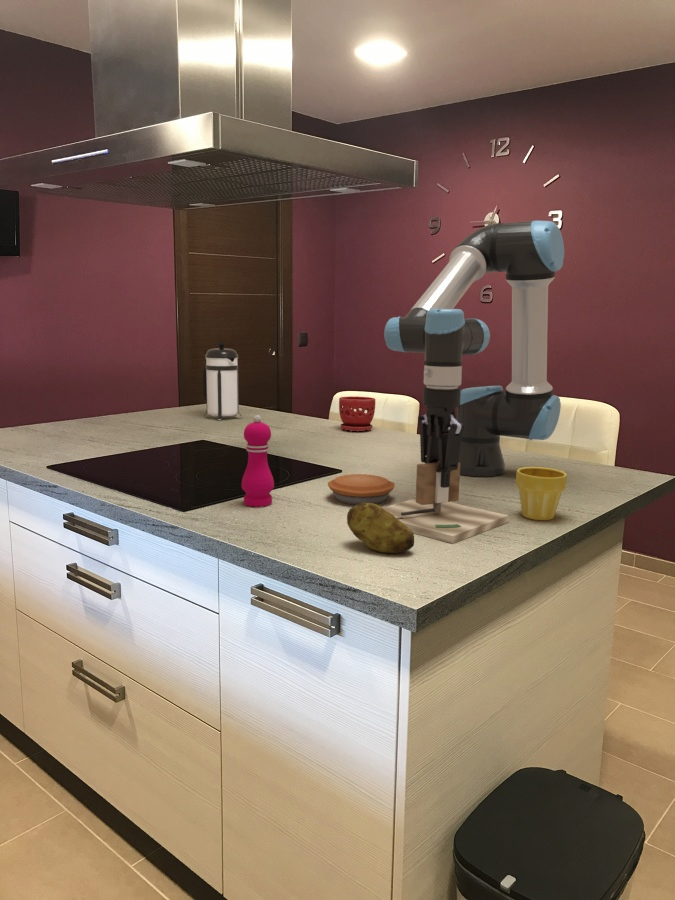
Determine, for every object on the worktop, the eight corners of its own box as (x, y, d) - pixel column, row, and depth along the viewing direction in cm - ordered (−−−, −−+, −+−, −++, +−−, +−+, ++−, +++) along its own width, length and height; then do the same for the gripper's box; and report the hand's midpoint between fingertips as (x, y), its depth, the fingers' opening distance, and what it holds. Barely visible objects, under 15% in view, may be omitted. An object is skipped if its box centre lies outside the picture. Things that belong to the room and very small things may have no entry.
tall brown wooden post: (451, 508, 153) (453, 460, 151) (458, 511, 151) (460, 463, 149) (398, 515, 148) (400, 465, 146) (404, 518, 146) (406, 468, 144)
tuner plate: (423, 502, 165) (423, 495, 165) (508, 522, 150) (508, 514, 150) (365, 519, 151) (365, 511, 151) (452, 543, 136) (452, 535, 136)
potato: (385, 562, 126) (386, 518, 124) (339, 543, 135) (339, 502, 134) (419, 553, 131) (421, 510, 129) (373, 535, 140) (373, 495, 139)
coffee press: (246, 415, 294) (245, 341, 289) (236, 421, 279) (235, 342, 273) (204, 414, 296) (202, 340, 290) (193, 420, 280) (191, 342, 275)
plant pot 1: (379, 432, 258) (380, 399, 256) (343, 433, 255) (343, 399, 253) (369, 426, 271) (369, 394, 268) (335, 427, 268) (335, 395, 265)
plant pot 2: (571, 516, 156) (575, 471, 154) (550, 526, 148) (553, 479, 146) (527, 506, 162) (530, 464, 161) (504, 516, 155) (507, 471, 153)
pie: (331, 489, 176) (331, 469, 175) (395, 492, 174) (395, 472, 173) (323, 506, 161) (323, 484, 160) (393, 509, 159) (393, 487, 158)
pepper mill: (258, 497, 167) (257, 411, 163) (280, 503, 163) (280, 415, 159) (235, 503, 162) (233, 415, 158) (257, 509, 157) (257, 418, 153)
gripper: (405, 383, 150) (402, 493, 155) (448, 391, 137) (443, 511, 141) (435, 382, 154) (431, 490, 158) (480, 390, 140) (474, 507, 145)
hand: (437, 499), depth 150 cm, fingers closed on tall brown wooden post, 2 cm apart
